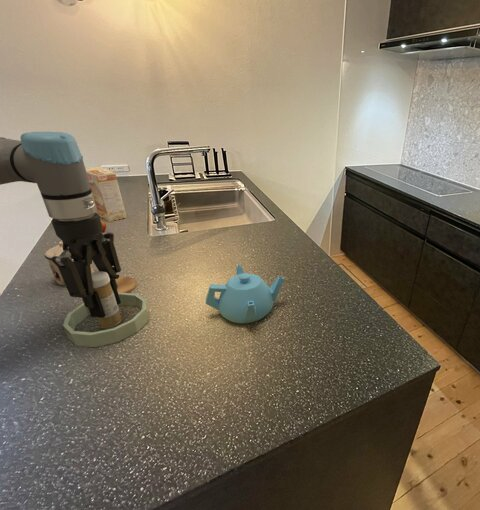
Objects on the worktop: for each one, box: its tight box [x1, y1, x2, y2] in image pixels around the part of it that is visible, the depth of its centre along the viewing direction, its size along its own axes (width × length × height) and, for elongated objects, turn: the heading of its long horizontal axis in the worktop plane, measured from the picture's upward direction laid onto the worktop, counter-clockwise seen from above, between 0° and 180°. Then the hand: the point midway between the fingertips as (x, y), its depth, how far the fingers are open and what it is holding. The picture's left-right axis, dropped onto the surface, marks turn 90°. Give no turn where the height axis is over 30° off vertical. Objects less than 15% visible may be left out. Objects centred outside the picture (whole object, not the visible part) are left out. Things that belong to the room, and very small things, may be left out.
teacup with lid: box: [44, 240, 95, 286], centre depth 85 cm, size 12×9×12 cm
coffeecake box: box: [85, 166, 128, 223], centre depth 128 cm, size 15×7×20 cm, turn 55°
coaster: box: [115, 276, 137, 293], centre depth 86 cm, size 10×10×1 cm
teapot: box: [205, 264, 285, 325], centre depth 80 cm, size 15×15×11 cm
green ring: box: [62, 292, 150, 348], centre depth 73 cm, size 16×16×4 cm
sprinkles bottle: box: [91, 270, 123, 329], centre depth 70 cm, size 5×5×14 cm
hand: (106, 309), depth 72 cm, fingers closed on sprinkles bottle, 4 cm apart
